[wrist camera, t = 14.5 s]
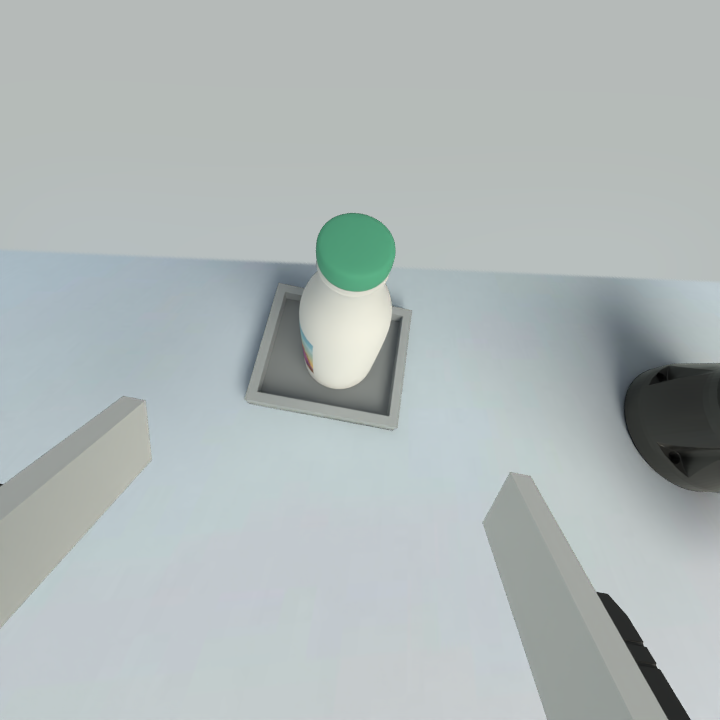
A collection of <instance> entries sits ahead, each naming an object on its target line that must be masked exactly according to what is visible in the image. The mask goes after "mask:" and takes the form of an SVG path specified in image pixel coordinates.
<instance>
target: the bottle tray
mask: <svg viewBox="0 0 720 720" xmlns="http://www.w3.org/2000/svg"><path fill="white" fill-rule="evenodd" d="M304 289H305V288H301V287H296V286H291V285H287V284H282V283H278V287H277V290H276V293H275V297H274V300H273V304H272V307H271V311H270V314H269V317H268V321H267V324H266V328H265V331H264V334H263V338H262V341H261V345H260V348H259V351H258V355H257V358H256V362H255V365H254V368H253V372H252V375H251V379H250V382H249V385H248V389H247V392H246V396H245V400H246V401H247V402H248V403H249V404H253V405H258V406H263V407H269V408H274V409H280V410H285V411H290V412H296V413H301V414H306V415H312V416H317V417H323V418H328V419H333V420H339V421H344V422H350V423H355V424H360V425H366V426H371V427H377V428H382V429H387V430H394V429H396V428H397V426H398V418H399V410H400V402H401V394H402V386H403V378H404V370H405V362H406V355H407V347H408V339H409V331H410V323H411V315H412V310H408V309H403V308H398V307H393V306H392V318H391V323H390V327H389V330H388V333H387V335H386V338H385V340H384V343H383V345H382V347H381V349H380V351H379V353H378V355H377V357H376V359H375V361H374V363H373V365H372V367H371V369H370V371H369V373H368V374H367V376H366V377H365V378H364V379H363V380H362V381H361V382H360V383H358V384H357V385H355V386H353V387H350V388H346V389H332V388H328V387H325V386H323V385H321V384H320V383H318V382H317V381H316V380H315V379H314V378H313V377H312V376H311V375H310V373H309V372H308V370H307V367H306V364H305V360H304V354H303V347H302V340H301V332H300V322H299V307H300V301H301V297H302V294H303V291H304Z"/></svg>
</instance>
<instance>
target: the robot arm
mask: <svg viewBox="0 0 720 720" xmlns="http://www.w3.org/2000/svg"><path fill="white" fill-rule="evenodd" d="M625 417H626V422H627V426H628V430H629V433H630V435H631V438H632V440H633V442H634V444H635V446H636V447H637V449H638V451H639V452H640V454H641V455H642V456H643V458H644V459H645V460H646V462H647V463H648V464H649V465H650V466H651V467H652V468H653V469H654V470H655V471H656V472H657V473H659V474H660V475H661V476H662V477H664V478H665V479H667V480H668V481H670V482H671V483H673V484H675V485H677V486H679V487H682V488H685V489H688V490H692V491H700V492H717V493H720V363H681V364H670V365H665V366H661V367H658V368H654V369H651V370H648V371H646V372H644V373H642V374H640V375H639V376H638V377H637V378H636V379H635V380H634V381H633V382H632V384H631V385H630V387H629V389H628V392H627V395H626V400H625ZM151 460H152V456H151V447H150V437H149V428H148V419H147V410H146V400H141V399H136V398H131V397H126V396H123V397H121V398H120V399H119V400H117V401H116V402H114V403H113V404H112V405H110V406H109V407H108V408H106V409H105V410H104V411H102V412H101V413H100V414H98V415H97V416H95V417H94V418H93V419H91V420H90V421H89V422H87V423H86V424H85V425H83V426H82V427H81V428H79V429H78V430H76V431H75V432H74V433H72V434H71V435H70V436H68V437H67V438H66V439H64V440H63V441H62V442H60V443H59V444H57V445H56V446H55V447H53V448H52V449H51V450H49V451H48V452H47V453H45V454H44V455H43V456H41V457H40V458H38V459H37V460H36V461H34V462H33V463H32V464H30V465H29V466H28V467H26V468H25V469H24V470H22V471H21V472H19V473H18V474H17V475H15V476H14V477H13V478H11V479H10V480H9V481H7V482H6V483H5V484H0V628H1V627H2V626H3V625H4V624H5V623H6V622H7V621H8V619H9V618H10V617H11V616H12V615H13V614H14V613H15V612H16V611H17V609H18V608H19V607H20V606H21V605H22V604H23V603H24V602H25V601H26V599H27V598H28V597H29V596H30V595H31V594H32V593H33V592H34V591H35V589H36V588H37V587H38V586H39V585H40V584H41V583H42V582H43V581H44V579H45V578H46V577H47V576H48V575H49V574H50V573H51V572H52V571H53V569H54V568H55V567H56V566H57V565H58V564H59V563H60V562H61V561H62V559H63V558H64V557H65V556H66V555H67V554H68V553H69V552H70V551H71V549H72V548H73V547H74V546H75V545H76V544H77V543H78V542H79V541H80V539H81V538H82V537H83V536H84V535H85V534H86V533H87V532H88V530H89V529H90V528H91V527H92V526H93V525H94V524H95V523H96V522H97V520H98V519H99V518H100V517H101V516H102V515H103V514H104V513H105V512H106V510H107V509H108V508H109V507H110V506H111V505H112V504H113V503H114V502H115V500H116V499H117V498H118V497H119V496H120V495H121V494H122V493H123V492H124V490H125V489H126V488H127V487H128V486H129V485H130V484H131V483H132V482H133V480H134V479H135V478H136V477H137V476H138V475H139V474H140V473H141V472H142V470H143V469H144V468H145V467H146V466H147V465H148V464H149V463H150V462H151ZM483 526H484V529H485V532H486V535H487V538H488V541H489V544H490V547H491V550H492V553H493V556H494V559H495V562H496V565H497V568H498V571H499V574H500V577H501V580H502V583H503V586H504V589H505V592H506V595H507V599H508V602H509V605H510V608H511V611H512V614H513V617H514V620H515V623H516V626H517V629H518V632H519V635H520V638H521V641H522V644H523V647H524V650H525V653H526V656H527V659H528V662H529V665H530V668H531V671H532V675H533V678H534V681H535V684H536V687H537V690H538V693H539V696H540V699H541V702H542V705H543V708H544V711H545V714H546V717H547V720H690V718H689V716H688V715H687V713H686V711H685V710H684V708H683V706H682V705H681V703H680V701H679V700H678V698H677V697H676V695H675V693H674V692H673V690H672V688H671V687H670V685H669V683H668V682H667V680H666V678H665V677H664V675H663V674H662V672H661V670H660V669H658V668H657V667H656V662H655V660H654V659H653V657H652V655H651V654H650V652H649V651H648V649H647V647H644V645H643V641H642V639H641V637H640V636H639V634H638V632H637V631H636V629H635V628H634V626H633V624H632V623H631V621H630V619H629V618H628V616H627V615H626V614H625V613H624V612H623V611H622V609H621V608H620V607H619V606H618V605H617V604H616V603H615V602H614V600H613V599H612V598H611V597H610V596H609V595H608V594H605V593H599V592H596V591H595V589H594V588H593V586H592V584H591V582H590V580H589V579H588V577H587V575H586V573H585V572H584V570H583V568H582V566H581V565H580V563H579V561H578V559H577V557H576V556H575V554H574V552H573V550H572V549H571V547H570V545H569V543H568V541H567V540H566V538H565V536H564V534H563V533H562V531H561V529H560V527H559V526H558V524H557V522H556V520H555V518H554V517H553V515H552V513H551V511H550V510H549V508H548V506H547V504H546V503H545V501H544V499H543V497H542V495H541V494H540V492H539V490H538V488H537V487H536V485H535V483H534V481H533V479H532V478H531V476H528V475H523V474H518V473H513V472H510V473H509V475H508V477H507V479H506V481H505V482H504V484H503V486H502V488H501V490H500V492H499V493H498V495H497V497H496V499H495V501H494V503H493V504H492V506H491V508H490V510H489V512H488V513H487V515H486V517H485V519H484V521H483Z"/></svg>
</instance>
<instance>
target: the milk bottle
mask: <svg viewBox="0 0 720 720" xmlns="http://www.w3.org/2000/svg"><path fill="white" fill-rule="evenodd" d="M316 258H317V261H316V265H317V272H316V273H315V274H314V275H313V276H312V277H311V279H310V280H309V282H308V283H307V285H306V287H305V289H304V291H303V294H302V297H301V301H300V307H299V322H300V332H301V340H302V347H303V354H304V360H305V364H306V367H307V370H308V372H309V373H310V375H311V376H312V377H313V378H314V379H315V380H316V381H317V382H318V383H320V384H321V385H323V386H325V387H328V388H332V389H346V388H350V387H353V386H355V385H357V384H358V383H360V382H361V381H362V380H363V379H364V378H365V377H366V376H367V374H368V373H369V371H370V369H371V367H372V365H373V363H374V361H375V359H376V357H377V355H378V353H379V351H380V349H381V347H382V345H383V343H384V340H385V338H386V335H387V333H388V330H389V327H390V323H391V318H392V302H391V297H390V293H389V290H388V288H387V286H386V284H385V283H386V281H387V279H388V277H389V273H390V271H391V268H392V266H393V262H394V258H395V242H394V239H393V237H392V235H391V233H390V231H389V230H388V229H387V228H386V227H385V225H383V224H382V223H381V222H380V221H378V220H377V219H375V218H372V217H370V216H368V215H364V214H359V213H347V214H342V215H339V216H336V217H334V218H332V219H331V220H329V221H328V222H327V223H326V224H325V225H324V226H323V227H322V229H321V231H320V233H319V235H318V238H317V243H316Z"/></svg>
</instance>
